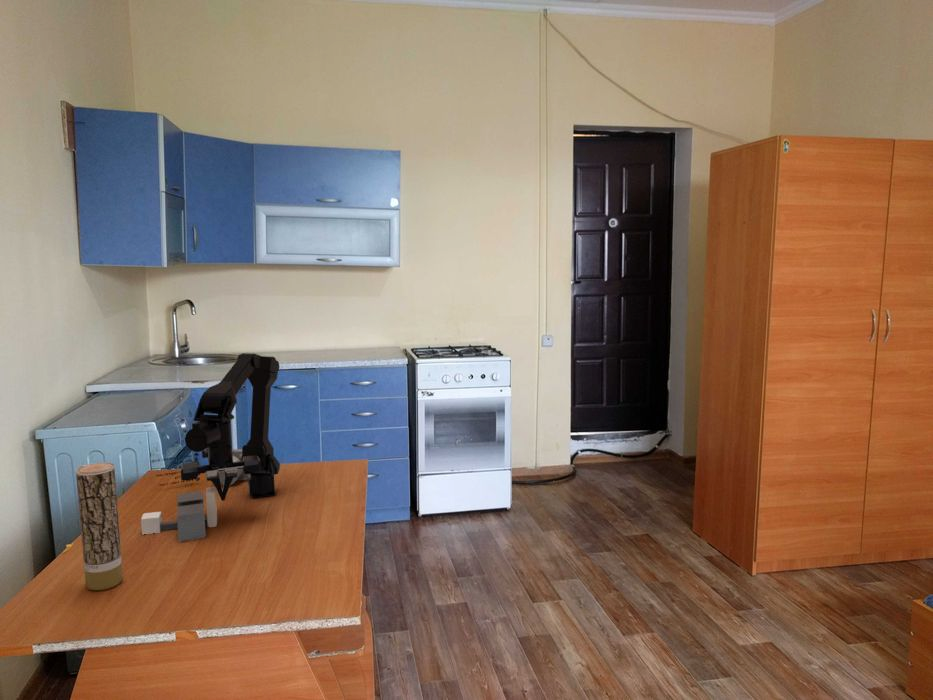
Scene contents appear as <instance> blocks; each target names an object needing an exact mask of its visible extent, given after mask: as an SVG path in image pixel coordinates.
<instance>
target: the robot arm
mask: <svg viewBox="0 0 933 700" xmlns="http://www.w3.org/2000/svg"><path fill="white" fill-rule="evenodd" d="M279 370H280V362H279V360H277V359H276V357H275V356H265V355H263V356H262V355H260V354H257V353H249V352H247V353H246V352H243V353H240V354H238V355H237V359H236V361H235V362H234V364H233V365H232V366H231V368H230V369H229V370H228V372H227V373H226V374H225V376H224V377H223V378H222V379H221V380H220V382H218V383H216V384H214V385H211V386H210V387H209V388H207V389H206V390H205V391H204V392H203V393H202V395H201V397H200V398H199V402H198V405H197V408H196V411H195V413H194V414H195V415H194V417H193V421H194V422H193V423H192V424H191V429H189V430H188V431H187V432H186V433H185V437H184V441H185V445H186V447H187V448H188V450H190V451H192V452H195V453H199V452H201V458H202V459H207V461H208V464H205V465H203V464H202V465H199V463H198V464H197V462H198V461H194V462H193V461H192V462H186V463H185V462H184V463H181V464H182V465H180V466H181V468H180V477H181V478H180V480H181V481H184V482H186V481H187V480H188V481H189V480H190V481H192V480H193V481H194V480H196V478H197V479H198V478H199V475H198V474H200V475H202V474H205V475H206V477H205V478H206V481H207V482H208V481H209V482H210V481H211V483H212V484H213V485H214V486H213V487H215V489H216V491H217V493H218V496H219V497H220V500H221V501H222V502H224V501H226V497H227V494H228V491H229V487H230V486H231V485H230V484H231V482H232V480H233V478H235V477H237V469H242V468H243V470H244V474H250V478H248V480H247V482H248V493H249V495H250V496H251V498H252V499H256V498H257V499H258V498H265V497H266V498H267V497H272V496H276V494H277V493H276V491H275V489H276V488H275V486H276V485H275V475H278V474H279V472H280V467H281V463H280V461H279V460H278V459H277V457H275V454H274V446H273V445H272V443H271V441H270V440H269V439H270V438H269V431H270V430H269V428H270V427H269V426H270V411H271V410H270V407H271V393H272V392H271V389H272V386H273V385H274V384H275V382H276V381H277V379H278V375H279ZM247 380H248V381H249V383H250V384H251V387H252V397H251V398H252V399H251V414H250V415H251V416H250V431H249V432H250V433H249V434H250V435H249V440H248V441H247V443H246V444H244V445H243V446H242V448H241V449H242V458H241V461H237V462H233V454H232V449H233V439H232V424H231V423H232V422H231V421H232V420H234V419H235V415H234V414H232V413H233V410H234V408H235V407H236V404H237V402H238V401H237V394H238V392H239V391H241V388H242V387H243V385H244V384H245V383H246V382H247ZM212 468H213V469H212ZM218 471H224V480H223V486H222V485H221V482H220V478H219V473H218Z"/></svg>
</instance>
